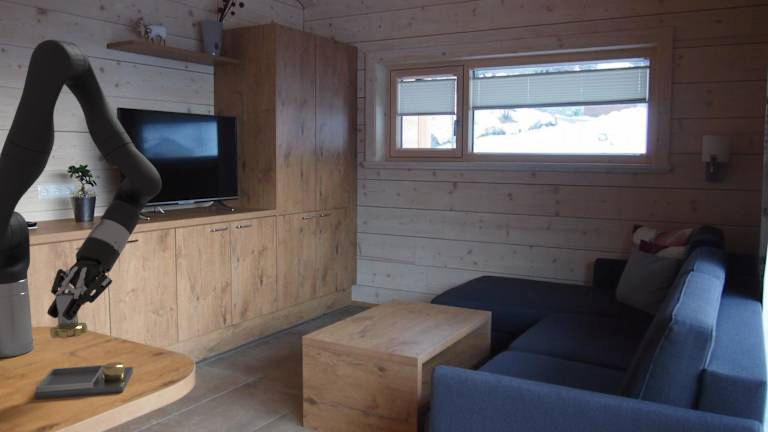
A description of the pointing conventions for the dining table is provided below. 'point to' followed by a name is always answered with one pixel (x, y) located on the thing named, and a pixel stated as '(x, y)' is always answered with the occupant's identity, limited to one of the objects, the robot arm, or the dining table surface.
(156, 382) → the dining table surface
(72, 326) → the gear
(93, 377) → the tray
